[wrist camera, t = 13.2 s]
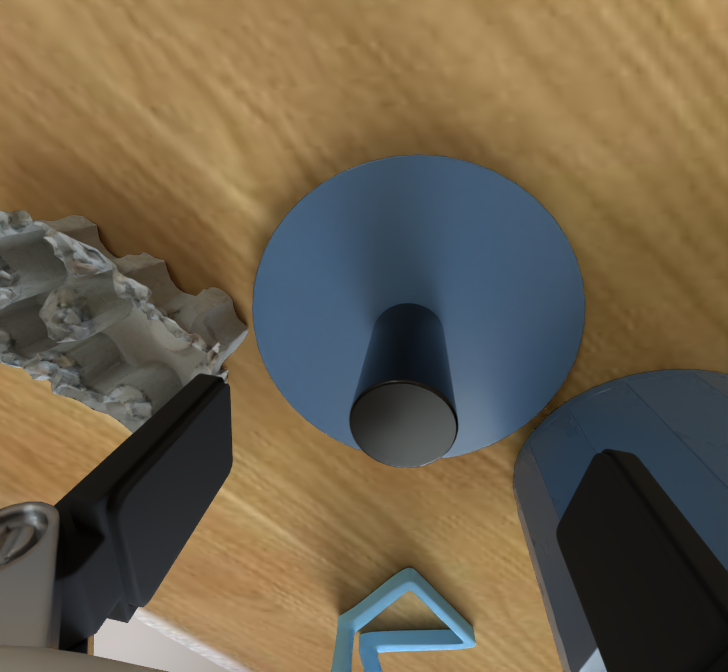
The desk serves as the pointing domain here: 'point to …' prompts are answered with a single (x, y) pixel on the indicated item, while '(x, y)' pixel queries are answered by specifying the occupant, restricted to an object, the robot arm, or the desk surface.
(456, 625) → the chair
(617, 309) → the desk surface
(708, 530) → the tin
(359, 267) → the tin lid
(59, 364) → the egg carton
